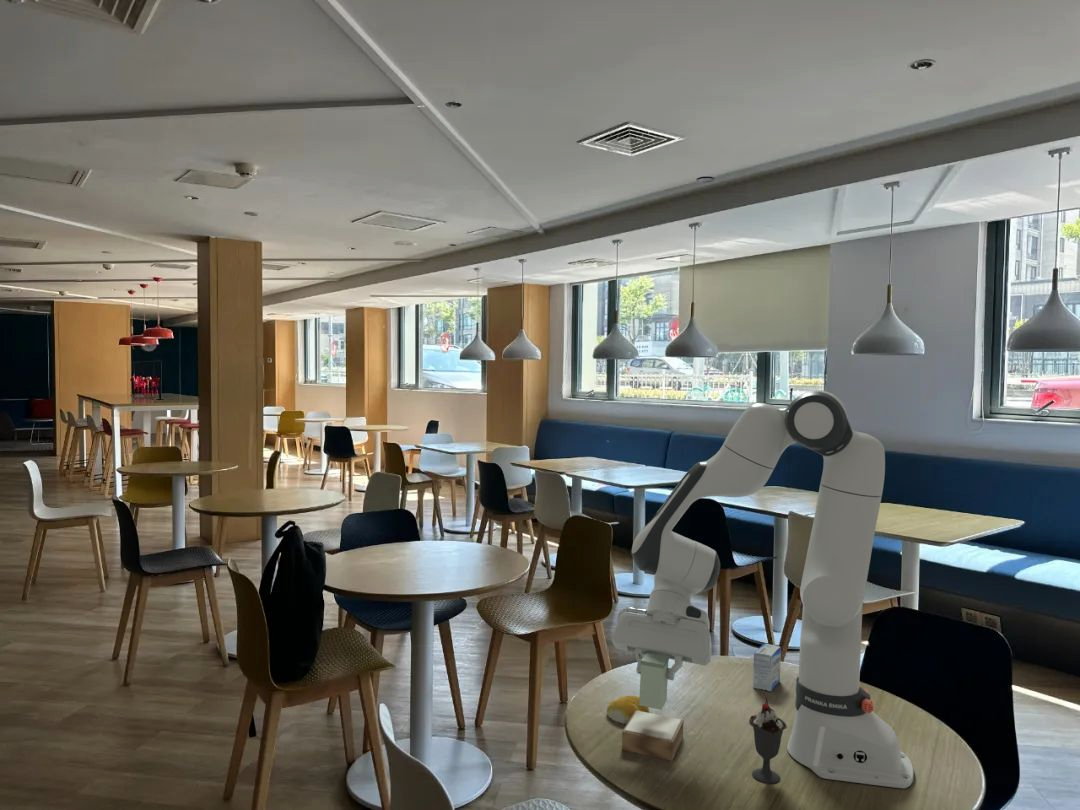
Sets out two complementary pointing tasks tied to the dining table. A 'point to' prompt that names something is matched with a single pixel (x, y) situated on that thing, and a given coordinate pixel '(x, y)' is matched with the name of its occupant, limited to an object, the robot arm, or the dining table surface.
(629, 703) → the bread roll
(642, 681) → the green pillar block
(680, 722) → the wooden square block
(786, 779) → the dining table surface
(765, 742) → the sundae
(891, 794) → the dining table surface
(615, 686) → the dining table surface
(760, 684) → the medicine box
